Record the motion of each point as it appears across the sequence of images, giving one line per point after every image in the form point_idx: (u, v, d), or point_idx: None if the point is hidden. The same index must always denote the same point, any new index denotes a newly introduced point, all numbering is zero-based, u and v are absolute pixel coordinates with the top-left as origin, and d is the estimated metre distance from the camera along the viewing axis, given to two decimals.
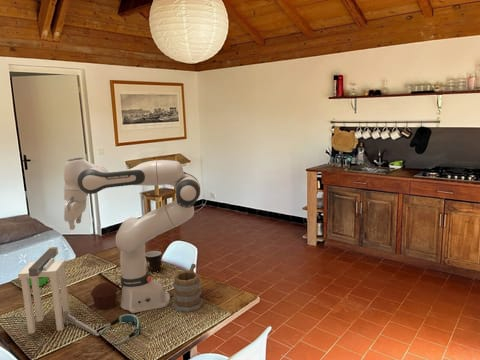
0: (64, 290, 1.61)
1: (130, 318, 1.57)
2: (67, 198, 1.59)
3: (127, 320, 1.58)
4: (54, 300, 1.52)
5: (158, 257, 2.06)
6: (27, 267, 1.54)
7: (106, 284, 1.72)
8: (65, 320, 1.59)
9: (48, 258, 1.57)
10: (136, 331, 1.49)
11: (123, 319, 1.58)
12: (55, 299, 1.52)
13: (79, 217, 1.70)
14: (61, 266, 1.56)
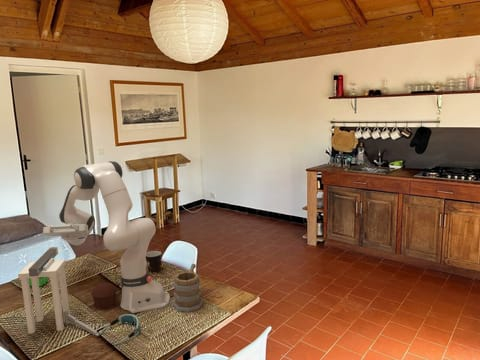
0: (64, 290, 1.61)
1: (130, 318, 1.57)
2: None
3: (126, 320, 1.58)
4: (54, 300, 1.52)
5: (158, 257, 2.06)
6: (27, 267, 1.54)
7: (106, 284, 1.72)
8: (65, 320, 1.59)
9: (48, 258, 1.57)
10: (136, 331, 1.48)
11: (123, 319, 1.58)
12: (55, 299, 1.52)
13: None
14: (61, 266, 1.56)
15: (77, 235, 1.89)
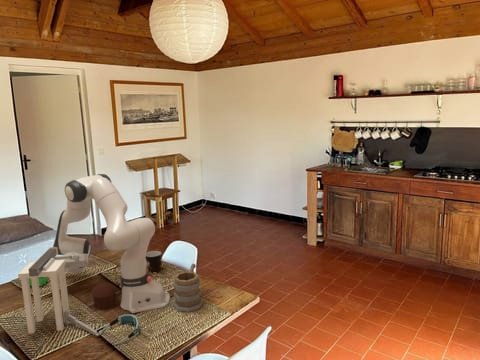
0: (64, 290, 1.61)
1: (129, 318, 1.57)
2: None
3: (126, 320, 1.58)
4: (54, 300, 1.52)
5: (158, 257, 2.06)
6: (27, 267, 1.54)
7: (106, 284, 1.72)
8: (65, 320, 1.59)
9: (48, 258, 1.57)
10: (135, 331, 1.48)
11: (122, 319, 1.58)
12: (55, 299, 1.52)
13: None
14: (61, 266, 1.56)
15: (77, 265, 1.85)
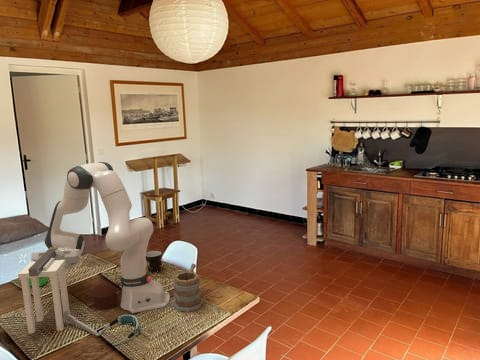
0: (64, 290, 1.61)
1: (129, 318, 1.57)
2: None
3: (125, 321, 1.58)
4: (54, 300, 1.52)
5: (158, 257, 2.06)
6: (27, 267, 1.54)
7: (106, 284, 1.72)
8: (65, 320, 1.59)
9: (48, 258, 1.57)
10: (135, 331, 1.48)
11: (122, 320, 1.58)
12: (55, 299, 1.52)
13: None
14: (61, 266, 1.56)
15: (69, 261, 1.74)
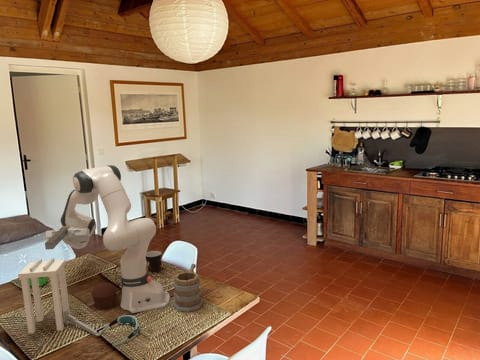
0: (64, 290, 1.61)
1: (128, 319, 1.57)
2: None
3: (125, 321, 1.57)
4: (54, 300, 1.52)
5: (158, 257, 2.06)
6: (27, 267, 1.54)
7: (106, 284, 1.72)
8: (65, 320, 1.59)
9: (61, 235, 1.75)
10: (135, 332, 1.48)
11: (121, 320, 1.57)
12: (55, 299, 1.52)
13: None
14: (61, 266, 1.56)
15: (79, 239, 1.91)
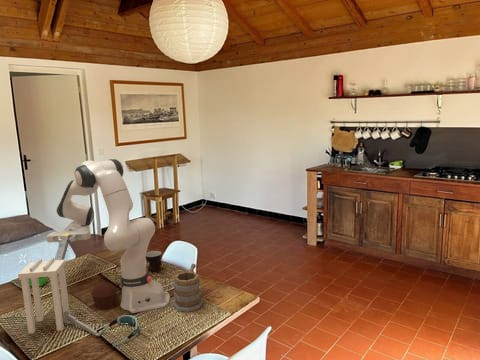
0: (64, 290, 1.61)
1: (128, 319, 1.57)
2: None
3: (125, 321, 1.57)
4: (54, 300, 1.52)
5: (158, 257, 2.06)
6: (27, 267, 1.54)
7: (106, 284, 1.72)
8: (65, 320, 1.59)
9: (64, 251, 1.77)
10: (135, 332, 1.48)
11: (121, 320, 1.57)
12: (55, 299, 1.52)
13: None
14: (61, 266, 1.56)
15: None
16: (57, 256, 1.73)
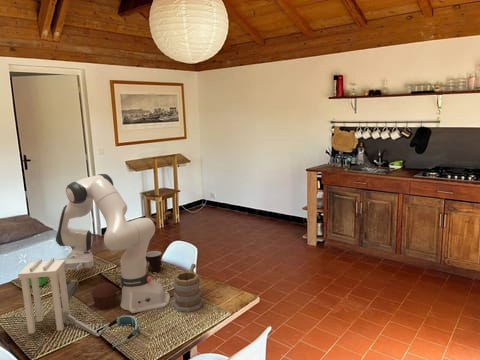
0: (64, 290, 1.61)
1: (128, 319, 1.56)
2: None
3: (124, 321, 1.57)
4: (54, 300, 1.52)
5: (158, 257, 2.06)
6: (27, 267, 1.54)
7: (106, 284, 1.72)
8: (65, 320, 1.59)
9: (71, 291, 1.84)
10: (134, 332, 1.48)
11: (121, 320, 1.57)
12: (55, 299, 1.52)
13: None
14: (61, 266, 1.56)
15: None
16: None
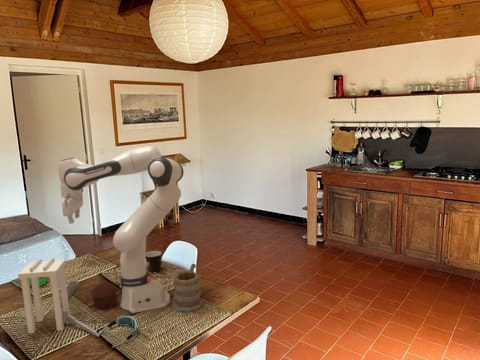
0: (64, 290, 1.61)
1: (127, 320, 1.56)
2: (64, 195, 1.74)
3: (124, 322, 1.57)
4: (54, 300, 1.52)
5: (158, 257, 2.06)
6: (27, 267, 1.54)
7: (106, 284, 1.72)
8: (65, 320, 1.59)
9: (71, 291, 1.84)
10: (134, 333, 1.47)
11: (120, 321, 1.57)
12: (55, 299, 1.52)
13: (77, 212, 1.85)
14: (61, 266, 1.56)
15: None
16: None
